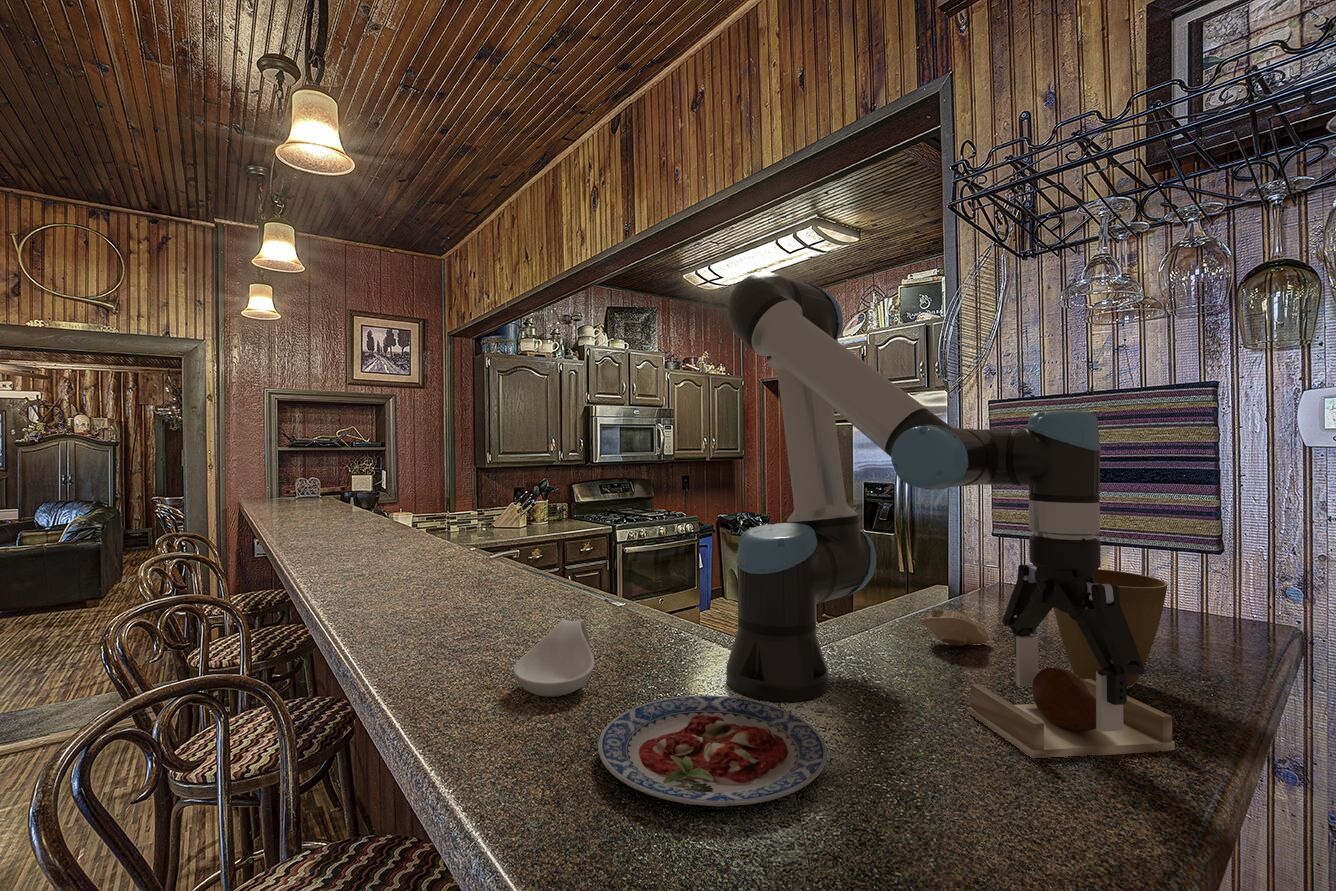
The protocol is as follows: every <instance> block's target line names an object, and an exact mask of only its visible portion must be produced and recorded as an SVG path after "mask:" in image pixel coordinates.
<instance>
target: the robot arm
mask: <svg viewBox="0 0 1336 891" xmlns="http://www.w3.org/2000/svg"><path fill="white" fill-rule="evenodd" d="M726 314H727V320H728V323H729V326H730V328H731V330H732V331H733V333H734V335H736V337H737V338H739V339H740V340H741V341H742V343H744V344H745V345H746V346H748V347H749V348H750V349H751V350H752V351H754V352H755V354H757V355H758V356H760V357H766V362H767V366H768V367H770V368H771V369H772V370H774V371H775V372H776V374H777V378H778V380H777V381H778V388H779V395H780V403H781V404H780V405H781V411H782V420H783V426H784V428H783V429H784V436H785V443H786V444H785V445H786V452H787V459H788V468H789V474H790V475H789V476H790V483H791V490H792V492H791V493H792V499H793V508H794V510H793V512H792V513H791V514H790V515H789V517H788V518H787V520H786V522H781V523H780V522H779V523H777V522H776V523H774V524H770V523H769V524H762V525H757V526H754V527H751V528H749V529H747V530H746V531H744V532H743V533H742V534H741V536H740V537H739V540H738V548H737V555H736V564H737V565H736V566H737V631H736V635H735V638H734V641H733V645H732V648H731V649H730V653H729V657H728V660H727V663H726V683H727V685H728V686H729V687H730V688H731V689H732V690H733V691H736V692H737V693H738V694H739V693H740V694H741V695H744V696H747V697H751V698H753V699H758V700H763V701H768V702H769V701H771V702H786V703H787V702H791V703H792V702H800V701H802V702H803V701H808V700H812V699H815V698H817V697H820V696H822V695H824V694H825V693H826V692H827V691H828V689H829V671H828V667H827V664H826V660H825V657H824V654H823V651H822V649H821V645H820V642H819V639H818V636H817V605H818V604H822V603H824V602H825V603H826V602H828V601H831V600H836V599H844V598H846V597H848V596H849V597H850V596H851V595H853V594H854V593H856V592H858V591H860V590H861V589H863V588H865V587H866V585H867V584H868V583H869V582H870V581H871V579H872V577H873V576H874V573H875V570H876V565H877V554H876V553H877V552H876V548H875V545H874V542H873V541H872V539H871V537H870V536H869V535H868V534H866V532H865V530H863V529H861V528H860V522H859V515H858V513H857V511H855V510H854V509H853V508H851V506H849V505H848V503H847V498H846V491H845V484H844V477H843V469H842V468H843V467H842V463H841V460H842V459H841V454H840V447H839V439H838V438H839V437H838V431H837V425H836V424H837V423H836V418H835V412H836V413H837V414H839V415H840V416H841V417H842V418H844V419H845V420H846V421H847V422H848V423H850V424H851V425H852V426H853V427H855V428H856V429H857V430H858V431H859V432H861V434H863V435H864V436H865V437H866V438H867V439H869V440H870V441H871V442H872V443H873V444H875V445H876V446H877V447H878V448H879V449H880V450H882V451H883V453H886V455H888V456H889V457H890V460H891V464H892V468H893V469H894V471H895V474H896V475H897V476H898V478H899V479H900V480H901V481H902V482H904V483H905V484H907V485H909V486H911V487H914V488H916V489H925V490H938V491H939V490H943V489H948V488H953V487H966V486H968V487H969V486H977V485H978V486H979V485H983V486H985V485H986V486H988V485H989V486H1016V487H1017V486H1018V487H1020V486H1021V487H1023V486H1025V487H1026V486H1028V492H1029V493H1028V529H1029V530H1030V531H1032V532H1034V533H1033V534H1031V535H1030V536H1029V540H1028V542H1029V543H1028V544H1029V545H1028V548H1029V551H1028V553H1029V554H1028V559H1029V562H1030V563H1031V564H1030V563H1029V564H1028V563H1023V564H1019V565H1018V566H1017V576H1016V578H1017V580H1016V583H1015V584H1014V587H1013V590H1012V592H1011V595H1010V599H1009V602H1008V604H1007V607H1006V609H1005V612H1004V615H1003V618H1002V624H1003V626H1005V627H1009V628H1010V630H1011V633H1012V634H1013V636H1014V643H1013V644H1014V657H1015V685H1016V686H1018V687H1033V680H1034V678H1035V676H1036V675H1037V674H1038V673H1039V636H1036V635H1037V634H1038V632H1037V628H1038V627H1039V626H1040V625H1041V623H1042V622H1043V621H1044V619H1046V618H1047V616H1048V614H1049V613H1050V612H1051V611H1052V609H1054V608H1058V609H1059V610H1061V611H1063V612H1066V613H1068V614H1069V616H1070V617H1071V618H1072V619H1074V620H1075V621H1076V622H1077V623H1078V625H1079V627H1080V629H1081V631H1082V633H1083V635H1084V637H1085V638H1086V640H1087V642H1088V644H1089V646H1090V648H1091V650H1092V652H1093V653H1094V655H1095V657H1096V659H1097V661H1098V663H1099V665H1100V667H1101V668H1102V669H1101V670H1100V671H1099V672H1096V729H1098V730H1099V731H1101V732H1106V731H1123V704H1126V701H1127V696H1128V693H1127V692H1128V689H1127V676H1128V675H1139V674H1140V675H1144V674H1145V671H1146V670H1145V665H1144V666H1143V663H1142V661H1141V658H1140V655H1139V653H1138V650H1137V648H1136V645H1135V642H1134V640H1133V637H1132V634H1131V632H1130V629H1129V626H1128V624H1127V621H1126V618H1125V616H1124V613H1123V611H1122V608H1121V605H1120V598H1119V589H1118V586H1117V585H1116V584H1096V583H1095V580H1094V572H1095V570H1096V569H1100V568H1101V565H1102V562H1101V561H1102V560H1101V559H1102V558H1101V556H1102V555H1101V554H1102V552H1101V549H1102V548H1101V545H1102V544H1101V541H1100V540H1099V539H1098V538H1096V537H1095V536H1097V535H1099V534H1100V533H1101V507H1100V505H1101V503H1100V500H1101V496H1100V489H1101V487H1100V486H1101V485H1100V484H1101V478H1100V477H1101V475H1100V473H1101V452H1102V446H1100V432H1099V420H1098V417H1097V416H1096V415H1095V414H1094V413H1092V412H1089V411H1085V410H1073V411H1072V410H1063V411H1062V410H1060V411H1059V410H1058V411H1056V410H1055V411H1042V412H1041V411H1040V412H1034V413H1031V414H1030V415H1029V416H1028V423H1027V424H1026V427H1021V428H1015V429H1014V428H1012V429H1009V428H1006V429H1000V428H999V429H993V428H992V429H991V428H990V429H988V428H987V429H984V428H983V429H974V428H959V427H957V428H956V427H953V426H951V425H949V424H948V423H947V422H945V421H944V420H943V419H941V418H940V417H939V416H937V415H936V414H934V413H933V412H931V411H930V410H929V409H928V408H927V407H925V405H923V404H921V403H920V402H919V401H917V400H916V399H915V398H914V397H912V396H911V395H910V394H908V393H907V392H906V391H904V390H903V389H902V388H901V387H899V386H897V385H896V384H895V383H894V382H892V381H890V380H889V379H888V378H887V377H886V376H884V375H883V374H881V373H880V372H879V371H877V370H876V369H875V368H873V367H872V366H870V365H869V363H867V362H865V361H864V360H863V359H861V357H859V356H857V355H856V354H855V353H853V352H852V351H850V350H849V349H848V348H847V347H845V346H844V345H843V344H841V343H840V342H839V341H838V340H839V336H840V335H842V331H843V325H844V317H843V312H842V309H841V306H840V303H839V302H838V300H837V299H836V298H835V297H834V296H833V295H832V294H831V293H830V292H828V291H826V290H825V289H823V288H822V287H820V286H818V285H816V284H813V283H807V282H801V281H799V280H796V279H791V278H789V277H785V276H783V275H781V274H777V273H775V272H758V273H754V274H751V275H749V276H747V277H745V278H744V279H742V280H741V281H740V282H738V283H737V284H736V286H735V287H734V289H733V290H732V291H731V293H730V295H729V298H728V302H727V311H726ZM1086 606H1087V608H1088V609H1085V608H1086ZM1110 660H1112V661H1113V663H1114V664H1111V662H1110ZM1127 661H1129V663H1127ZM1140 675H1139V676H1140ZM1126 695H1127V696H1126Z"/></svg>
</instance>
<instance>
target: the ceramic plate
mask: <svg viewBox="0 0 1336 891" xmlns="http://www.w3.org/2000/svg"><path fill="white" fill-rule="evenodd" d="M597 744H598V745H597V746H598V749H597V750H598V754H599V759H600V760H601V763H602V764H603V765H604V767H605V769H606V770H608V772H610V774H612V775H613V776H614V777H615V778H617V779H618V780H619V781H621V782H622V783H624V784H625V785H627V786H629V787H631V788H632V789H635V790H636V791H640V792H642V793H644V794H645V795H646V794H647V795H650V796H652V797H656V798H659V799H662V800H666V801H672V802H676V803H680V804H686V805H697V806H707V807H708V806H709V807H712V806H713V807H729V806H731V807H732V806H741V805H742V806H743V805H754V804H755V805H756V804H759V803H764V802H769V801H772V800H777V799H780V798H783V797H785V796H788V795H790V794H793V793H796V792H798V791H800V790H801V789H803V788H805V787H806V786H808V785H810V784H811V783H812V782H813V781H814V780H815V779H817V777H818V776H819V775H820V774H821V773H822V771H823V770H824V769H825V768H824V767H825V766H826V762H827V756H828V752H827V745H826V743H825V741H824V739H823V737H822V736H821V734H820V733H819V732H818V730H816V729H815V728H814V727H813V726H812V725H811V723H808V722H807V721H805V720H803V719H802V718H801V717H800V716H797V715H796V714H794V713H792V712H789V711H787V710H785V709H782V708H780V707H778V706H775V705H772V704H768V703H765V702H763V701H756V700H753V699H749V698H748V699H747V698H743V697H735V696H733V697H732V696H726V695H708V694H707V695H706V694H705V695H704V694H703V695H701V694H700V695H685V696H684V695H683V696H675V697H668V698H664V699H658V700H653V701H650V702H647V703H643V704H641V705H640V704H639V705H637V706H636V707H633V708H631V709H628V710H626V711H624V712H622V713H620V714H619V715H618V716H616V717H614V719H613V720H611V721H610V722H609V723H608V724H606V726H605V727H604V728H603V730H602V731H601V733H600V736H599V738H598V743H597Z"/></svg>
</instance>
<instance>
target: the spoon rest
mask: <svg viewBox="0 0 1336 891" xmlns="http://www.w3.org/2000/svg"><path fill="white" fill-rule="evenodd" d="M594 669H595V659H594V655H593V652H592V649H591V641H590V636H589V632H588V630H587V626H586V624H585V622H584V621H583V620H582V619H579V620H578V619H577V620H576V621H575V620H573V621H572V620H568V619H562V620H560V621H559V622H557V624H556V625H555V626H554V627H553V628H552V629H551V630H550V631H549V632H548V633H547V634H546V635H545V636H544V637H543V638H541V639H540V640H539V641H538V642H537V643H535V644H534V646H532V647H531V648H530V649H529V650H528V651H527V652H526V653H524V654H523V655H522V656H521V658H519V659H518V660H517V661H516V663H515V664H514V666H513V668H512V674H513V677H514V678H515V681H516V682H517V683H518V684H519V685H520V687H522V688H523V689H524V690H525V691H527V692H529V693H531V694H533V695H536V696H541V697H547V698H549V697H550V698H551V697H552V698H554V697H555V696H557V697H562V695H563V696H566V695H569V694H572V693H574V692H576V691H578V690H579V689H581V687H583V686H584V685H585V684H586V683H587V682H588V680H589V679H590V677H591V675H592V674H593V672H594Z"/></svg>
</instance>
